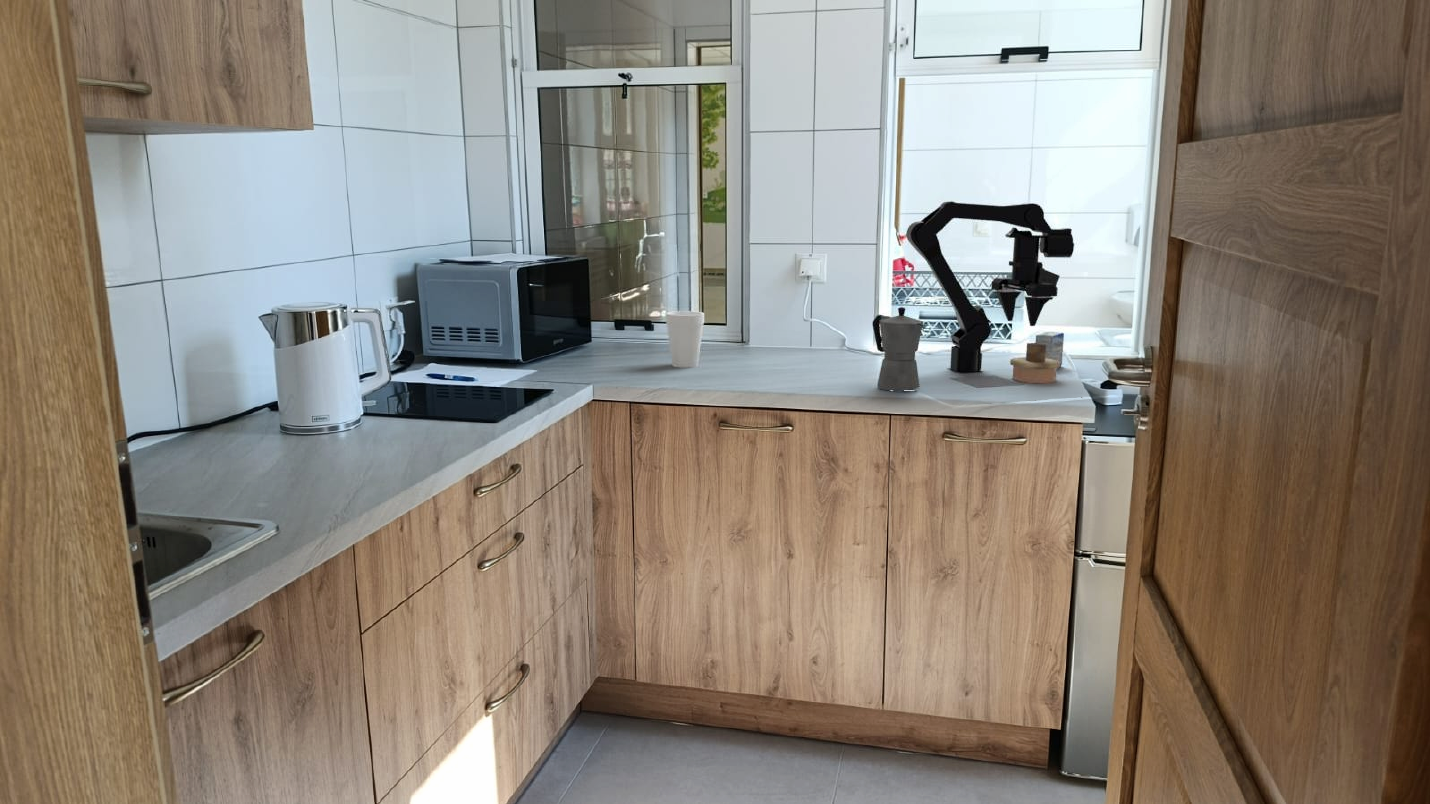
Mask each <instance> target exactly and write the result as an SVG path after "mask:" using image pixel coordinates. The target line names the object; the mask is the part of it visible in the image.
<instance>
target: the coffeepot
mask: <svg viewBox="0 0 1430 804" xmlns="http://www.w3.org/2000/svg"><path fill="white" fill-rule="evenodd" d="M897 310H898V315H895V316H892V317H891V316H888V315H884V314H878V315H875V318H874V319H873V320H872V322H871V323H872V324H871V325H872V330H873V334H874V340H875V344H876V350H877V351H878V352H881V353H884V358H883V359H882V360H881V366H880V370H879V376H878V379H877V386H876V387H877V388H878V389H879V388H880V389H879V390H881V389H882V390H881V391H885V390H893V391H904V390H915V389H918V388H920V379H919V371H918V364H917V360H916V352H918V350H919V346H920V341H921V335H922V330H923V329H924V327H925V325H924V321H922V320H919V319H916V318H913V317H910V316H907V315H905V314H906V313H905V312H906V307H904V306H903V307H902V306H900V307H898V308H897Z"/></svg>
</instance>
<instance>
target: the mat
mask: <svg viewBox="0 0 1430 804" xmlns="http://www.w3.org/2000/svg"><path fill="white" fill-rule="evenodd" d="M949 379H950V380H953V381H956V382H959V383H962V384H964V385H968V386H971V387H974V388H977V389H978V388H979V389H980V388H984V389H985V388H996V387H997V388H998V387H1010V386H1011V387H1012V386H1015V387H1016V386H1025V384H1024V383H1022V382H1021V383H1020V382H1019V381H1015V380H1012V379H1008V378H1004V377H1002V376H998V375H995V374H994V375H976V376H975V375H974V376H958V377H949Z"/></svg>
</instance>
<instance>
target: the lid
mask: <svg viewBox="0 0 1430 804" xmlns="http://www.w3.org/2000/svg"><path fill="white" fill-rule="evenodd" d="M1025 352H1026V353H1025V354H1026V355H1025V356H1023V357H1013V358H1010V361H1009V364H1010V365H1011V366H1017V367H1023V368H1032V369H1053V368H1057V369H1059V368H1061V367H1060V364H1061V362H1059V361H1057V360H1053V359H1046V358H1045V354H1046V344H1041V343H1035V342H1027V343H1026V351H1025Z"/></svg>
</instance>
